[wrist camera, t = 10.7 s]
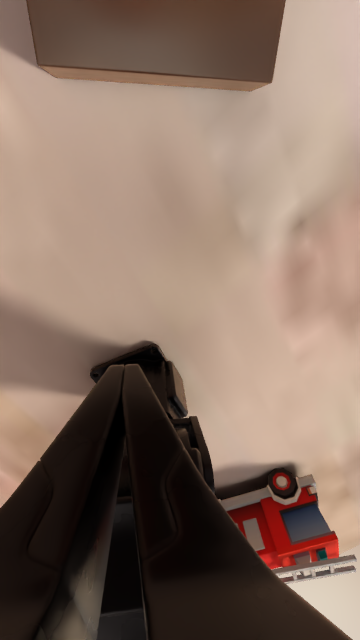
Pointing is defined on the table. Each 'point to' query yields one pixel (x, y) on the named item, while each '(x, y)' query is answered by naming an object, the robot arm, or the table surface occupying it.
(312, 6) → the table surface
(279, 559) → the toy fire truck
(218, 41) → the book rack
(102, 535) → the robot arm
